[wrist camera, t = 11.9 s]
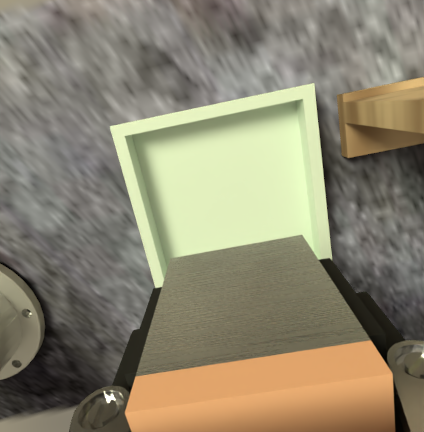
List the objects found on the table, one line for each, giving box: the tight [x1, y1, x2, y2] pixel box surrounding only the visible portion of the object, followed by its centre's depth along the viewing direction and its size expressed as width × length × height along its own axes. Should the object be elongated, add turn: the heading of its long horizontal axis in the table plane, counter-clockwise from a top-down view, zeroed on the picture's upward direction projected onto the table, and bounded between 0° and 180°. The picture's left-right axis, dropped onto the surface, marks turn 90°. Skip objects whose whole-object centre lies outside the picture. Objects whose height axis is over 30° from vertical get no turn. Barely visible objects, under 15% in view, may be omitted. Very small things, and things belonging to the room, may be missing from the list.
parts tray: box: [110, 83, 332, 288], centre depth 26 cm, size 14×14×2 cm
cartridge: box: [125, 235, 395, 432], centre depth 9 cm, size 4×4×6 cm
